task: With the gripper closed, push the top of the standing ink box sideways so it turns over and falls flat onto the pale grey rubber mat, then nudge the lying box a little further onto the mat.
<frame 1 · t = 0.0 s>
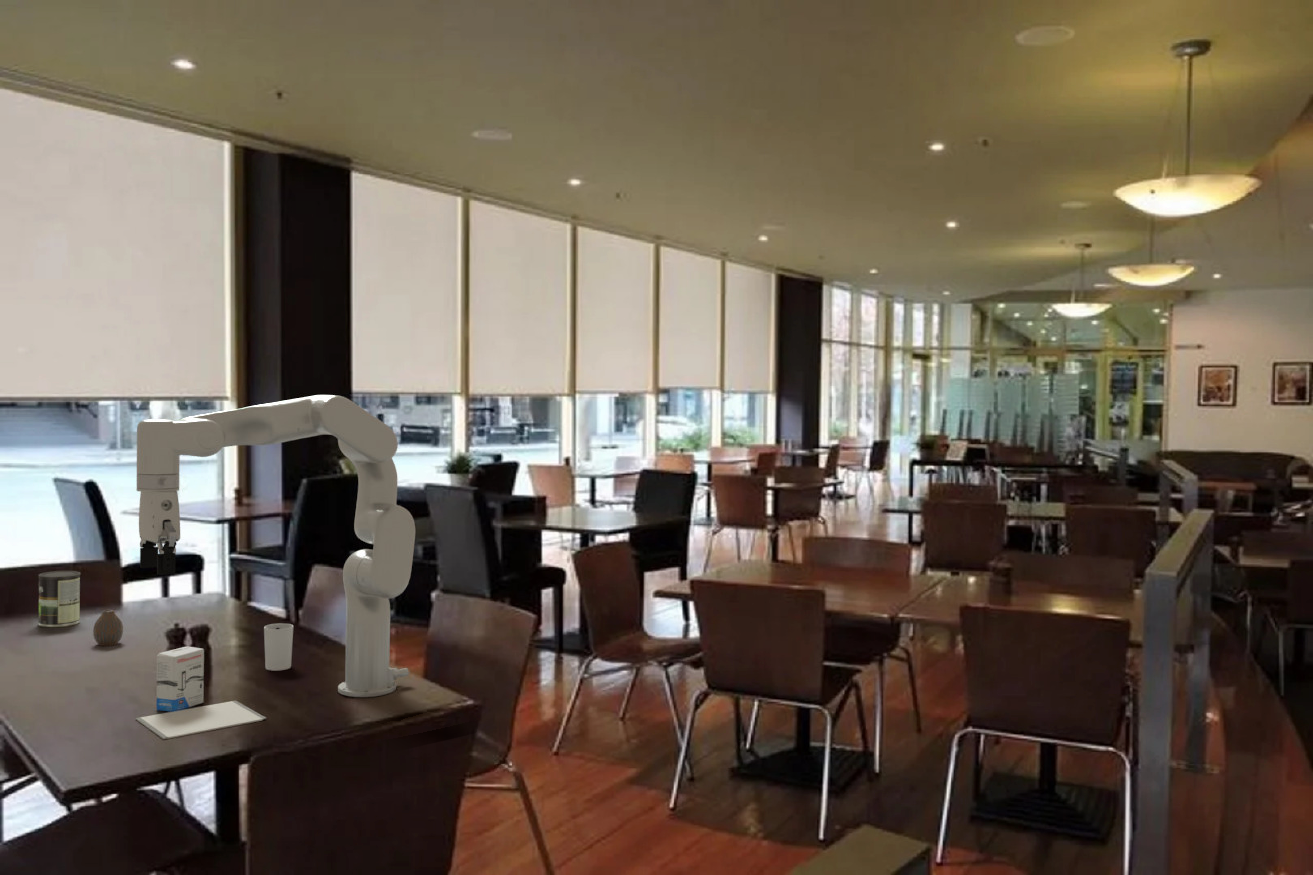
hand: (157, 570, 205), 31 cm above the table, tool pointing down, fingers open, 9 cm apart
coffee can: (59, 624, 297), on the table
mat: (201, 719, 213), on the table
vase: (108, 645, 274), on the table
ink box: (180, 707, 222), on the table
white cup: (278, 668, 255), on the table
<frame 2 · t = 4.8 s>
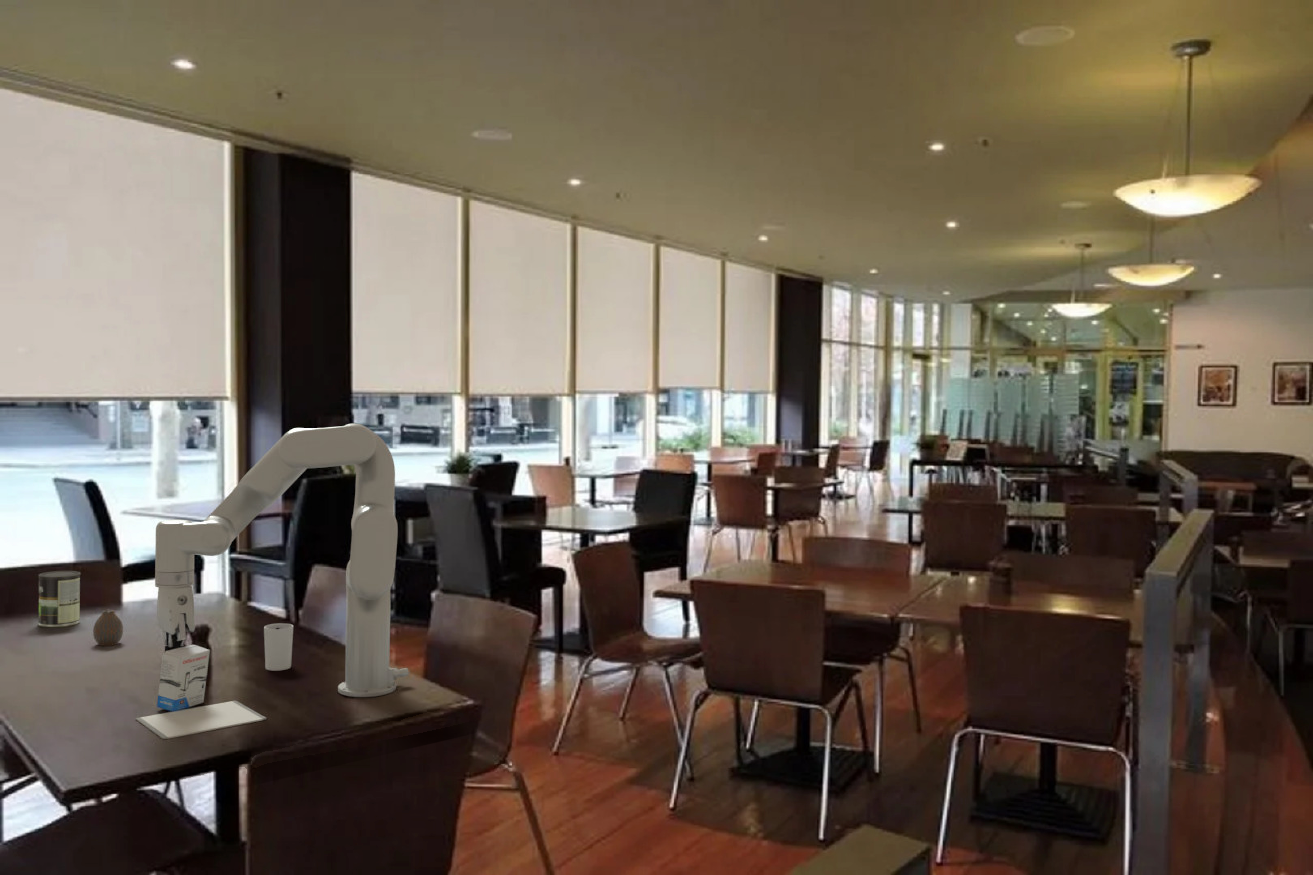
hand: (173, 664, 224), 8 cm above the table, tool pointing down, fingers closed
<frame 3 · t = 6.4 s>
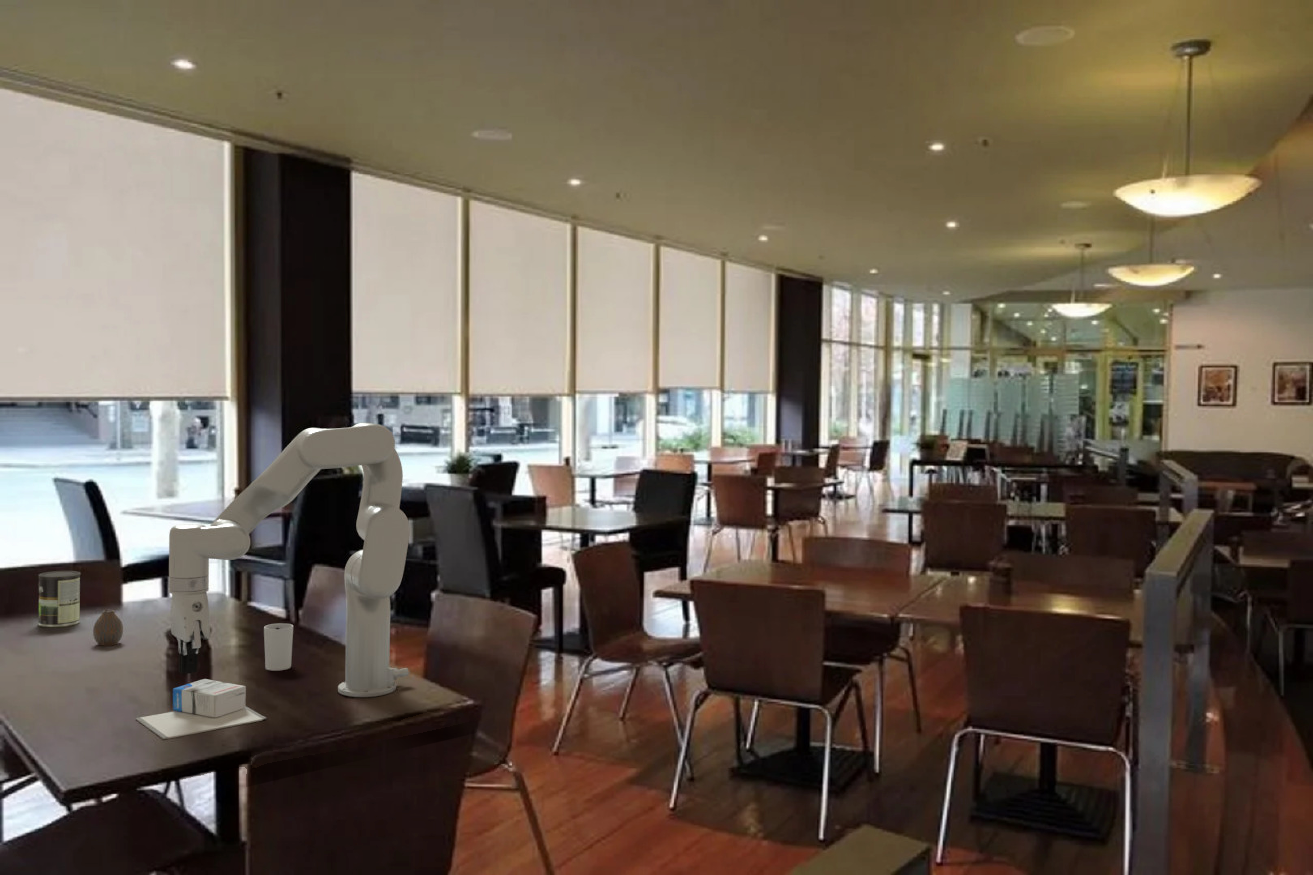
hand: (188, 672, 219), 8 cm above the table, tool pointing down, fingers closed
ink box: (188, 693, 221), point 3 cm above the table, touching mat
everything else where it was.
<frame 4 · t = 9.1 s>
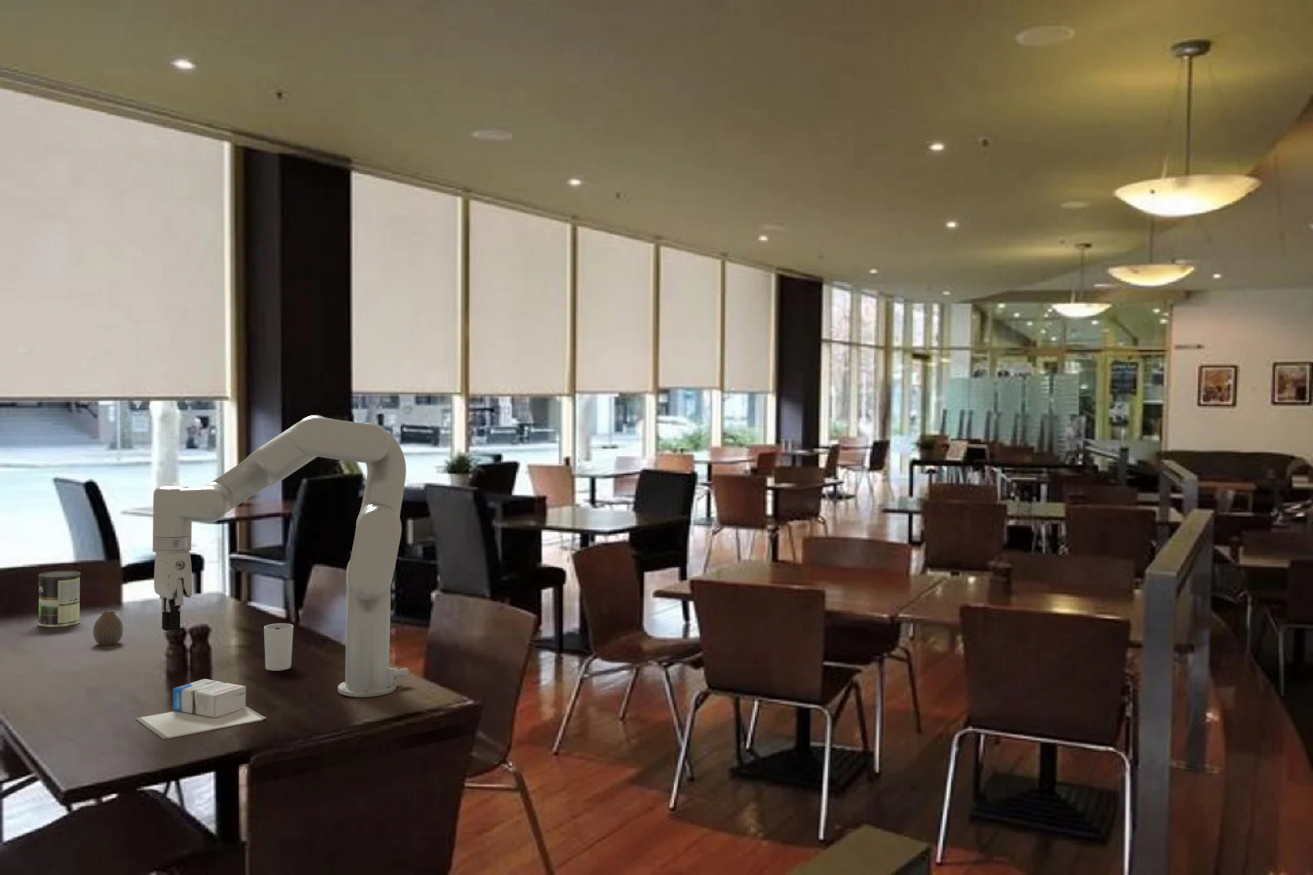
hand: (171, 629, 225), 15 cm above the table, tool pointing down, fingers closed
nothing on the table moved.
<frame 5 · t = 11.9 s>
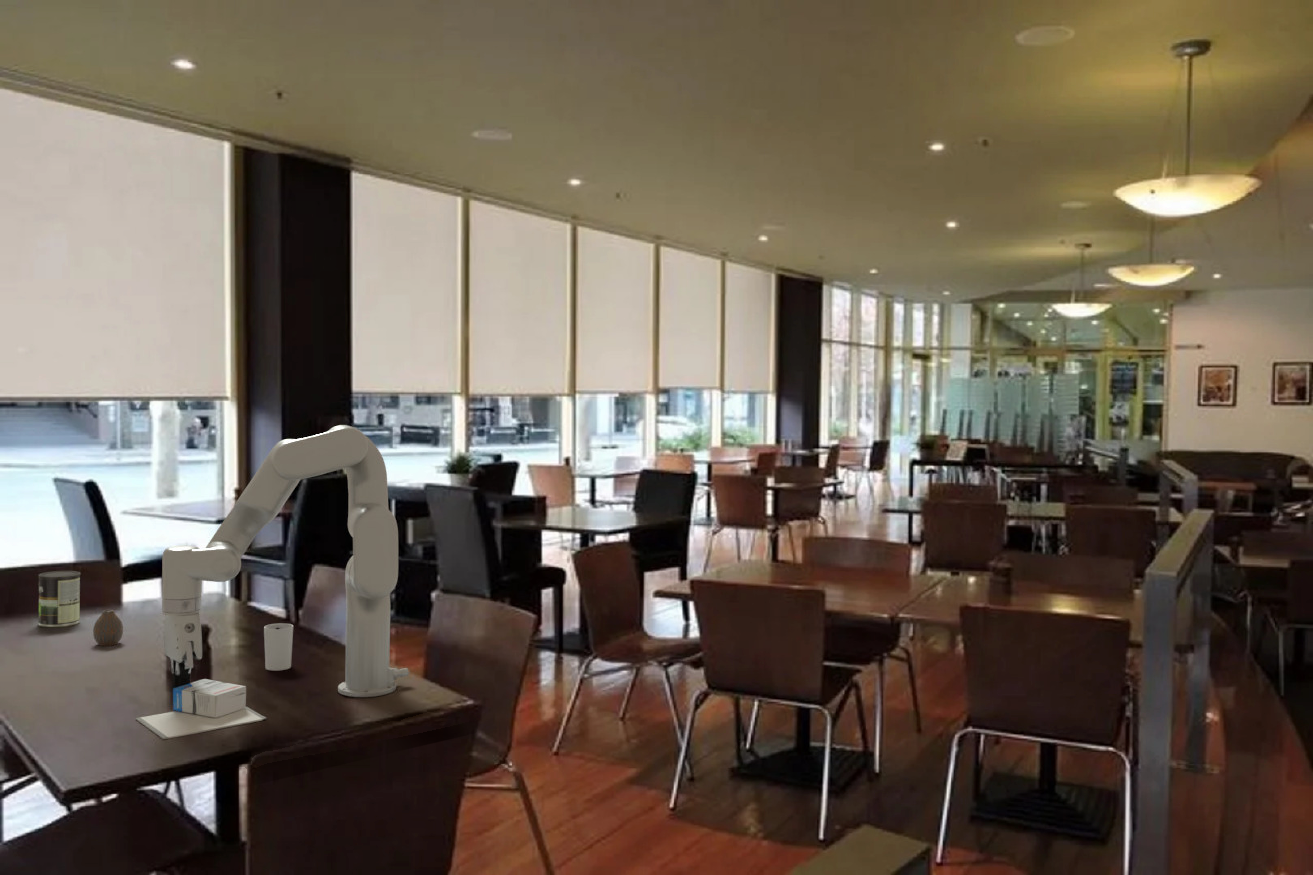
hand: (180, 692, 222), 3 cm above the table, tool pointing down, fingers closed
ink box: (188, 693, 221), point 3 cm above the table, touching gripper
everything else where it was.
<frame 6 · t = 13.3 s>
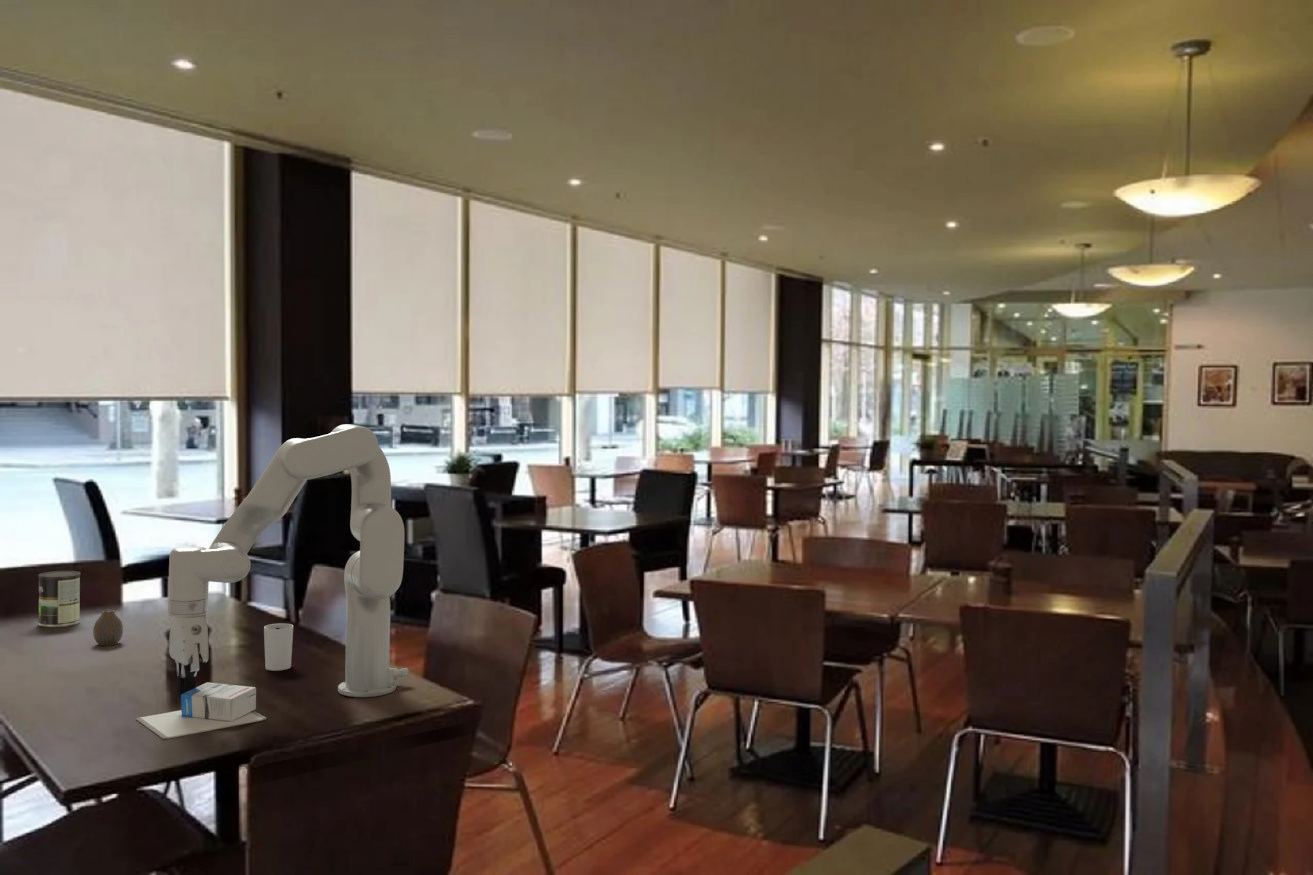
hand: (186, 695, 218), 3 cm above the table, tool pointing down, fingers closed
ink box: (193, 698, 218), point 3 cm above the table, touching gripper, mat
everything else where it was.
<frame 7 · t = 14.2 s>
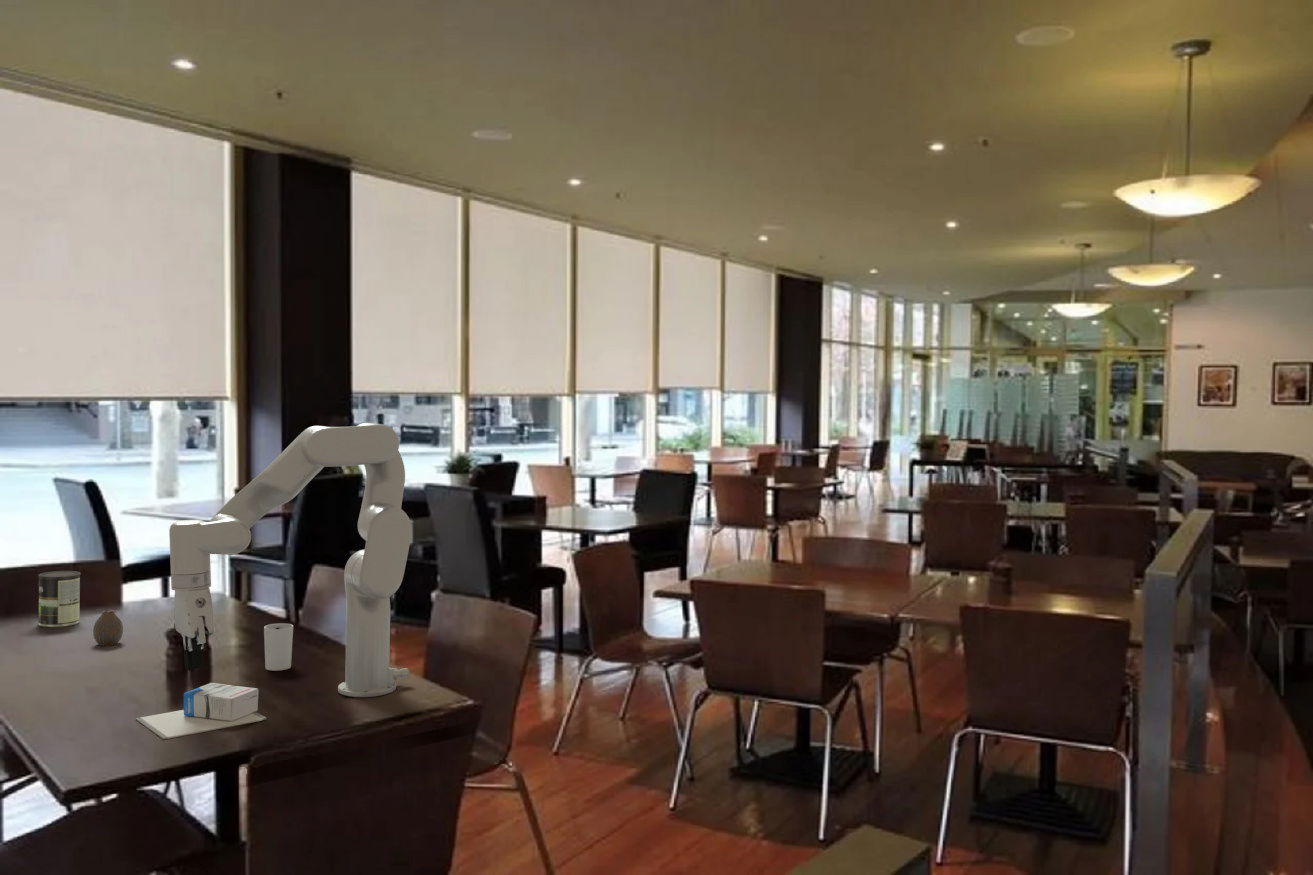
hand: (194, 668, 219), 9 cm above the table, tool pointing down, fingers closed
ink box: (196, 698, 218), point 3 cm above the table, touching mat
everything else where it was.
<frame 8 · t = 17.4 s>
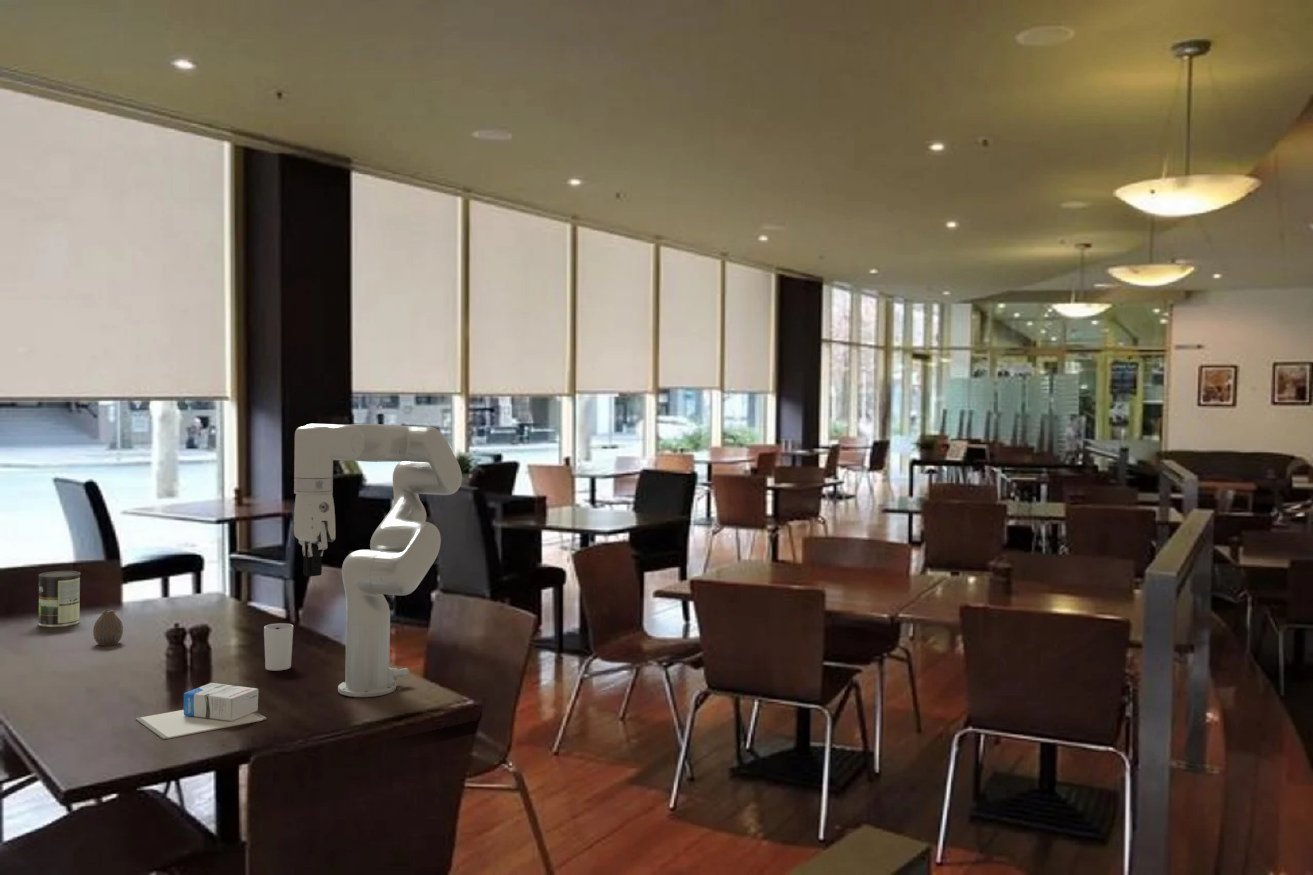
hand: (312, 575, 217), 29 cm above the table, tool pointing down, fingers closed
nothing on the table moved.
at the end: ink box tilted 91°; ink box inside the target area on the mat (4.5 cm from its centre), point 2.9 cm above the mat's base; the gripper is holding nothing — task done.
